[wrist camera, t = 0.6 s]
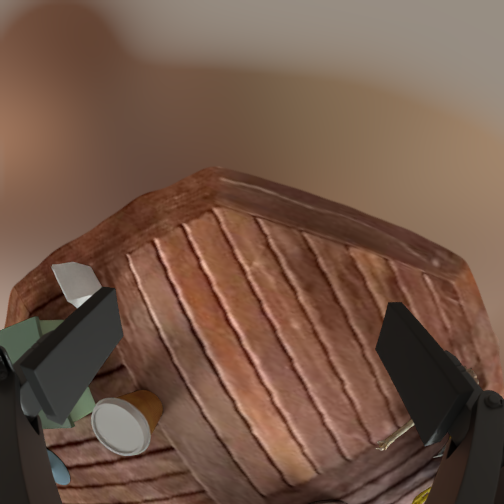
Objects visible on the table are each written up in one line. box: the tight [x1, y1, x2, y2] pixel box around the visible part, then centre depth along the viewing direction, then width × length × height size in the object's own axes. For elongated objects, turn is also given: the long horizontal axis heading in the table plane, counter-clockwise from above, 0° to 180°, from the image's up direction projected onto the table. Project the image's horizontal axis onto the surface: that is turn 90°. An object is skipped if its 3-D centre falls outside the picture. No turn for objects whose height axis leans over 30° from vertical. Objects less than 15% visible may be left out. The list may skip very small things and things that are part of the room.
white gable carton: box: [51, 262, 102, 308], centre depth 41 cm, size 4×7×10 cm, turn 39°
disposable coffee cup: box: [91, 390, 163, 456], centre depth 36 cm, size 10×10×12 cm
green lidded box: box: [0, 316, 96, 429], centre depth 38 cm, size 19×17×10 cm
